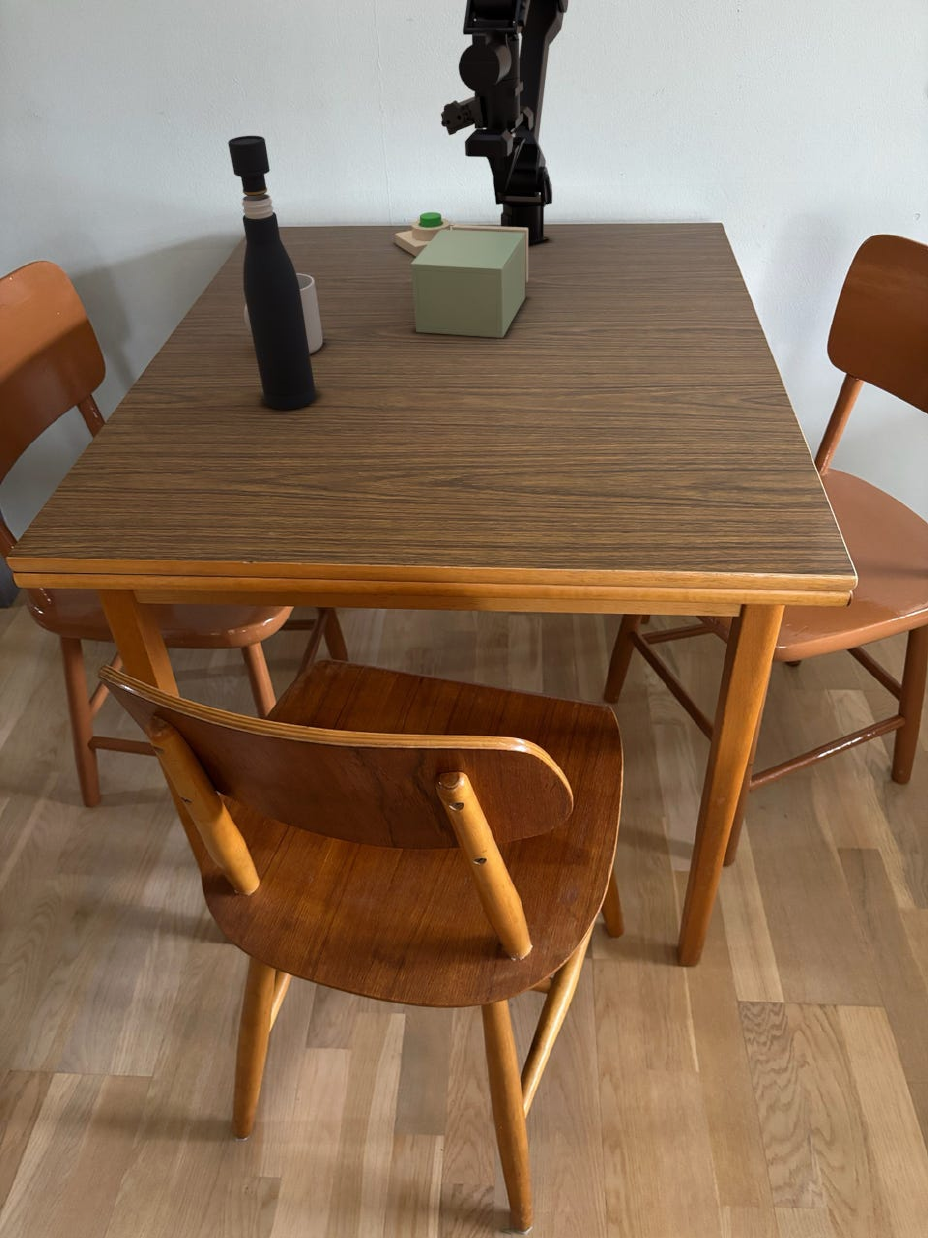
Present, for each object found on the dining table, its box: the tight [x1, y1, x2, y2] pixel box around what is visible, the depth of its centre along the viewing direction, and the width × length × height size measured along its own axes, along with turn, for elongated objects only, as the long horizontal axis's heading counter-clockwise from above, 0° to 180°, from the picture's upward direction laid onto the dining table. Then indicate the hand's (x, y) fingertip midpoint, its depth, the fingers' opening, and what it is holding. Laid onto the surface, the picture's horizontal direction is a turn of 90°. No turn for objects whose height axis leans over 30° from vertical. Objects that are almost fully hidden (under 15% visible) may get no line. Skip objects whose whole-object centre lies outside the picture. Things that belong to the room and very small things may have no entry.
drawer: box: [452, 224, 529, 284], centre depth 142 cm, size 17×11×8 cm, turn 165°
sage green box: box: [410, 229, 526, 339], centre depth 136 cm, size 15×13×10 cm
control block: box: [394, 217, 454, 258], centre depth 163 cm, size 10×8×4 cm
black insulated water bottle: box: [227, 135, 317, 411], centre depth 111 cm, size 6×6×30 cm
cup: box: [243, 273, 324, 355], centre depth 130 cm, size 7×10×9 cm
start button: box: [419, 211, 442, 228], centre depth 161 cm, size 4×4×2 cm
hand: (501, 192), depth 146 cm, fingers closed
